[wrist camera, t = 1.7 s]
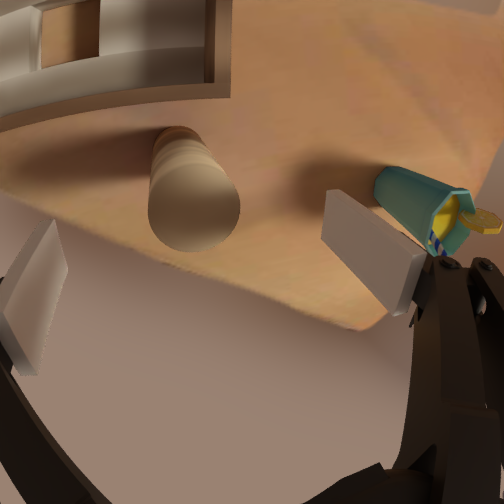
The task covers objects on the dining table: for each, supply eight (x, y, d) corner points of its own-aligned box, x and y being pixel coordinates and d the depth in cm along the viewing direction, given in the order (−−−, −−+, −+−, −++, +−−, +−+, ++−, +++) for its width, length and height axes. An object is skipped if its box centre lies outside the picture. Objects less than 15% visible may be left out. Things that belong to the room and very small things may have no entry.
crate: (-33, 6, 12) (-77, -3, 5) (214, -47, 18) (235, -85, 11) (-32, 138, 19) (-78, 161, 12) (211, 93, 25) (230, 98, 18)
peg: (151, 128, 25) (143, 171, 13) (202, 124, 26) (240, 162, 15) (154, 177, 27) (153, 257, 16) (203, 172, 28) (239, 247, 17)
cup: (343, 241, 37) (422, 323, 25) (327, 185, 33) (421, 259, 20) (428, 193, 37) (513, 249, 25) (421, 139, 33) (521, 185, 20)
